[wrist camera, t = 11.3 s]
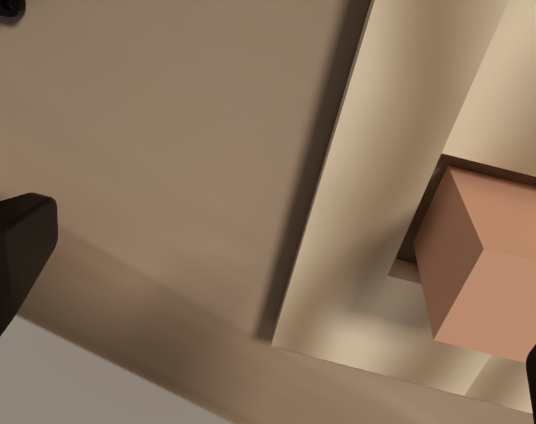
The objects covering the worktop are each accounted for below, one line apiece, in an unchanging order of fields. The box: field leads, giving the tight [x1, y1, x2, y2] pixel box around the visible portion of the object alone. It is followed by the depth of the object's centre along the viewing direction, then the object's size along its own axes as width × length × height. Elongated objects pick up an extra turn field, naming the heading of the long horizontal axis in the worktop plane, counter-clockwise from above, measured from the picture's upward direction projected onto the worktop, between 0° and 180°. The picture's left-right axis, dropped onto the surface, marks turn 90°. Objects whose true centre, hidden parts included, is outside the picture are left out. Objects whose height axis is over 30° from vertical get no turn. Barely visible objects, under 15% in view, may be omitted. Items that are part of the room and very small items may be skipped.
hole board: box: [271, 0, 536, 414], centre depth 20 cm, size 14×18×2 cm
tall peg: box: [413, 165, 536, 363], centre depth 18 cm, size 4×4×6 cm
